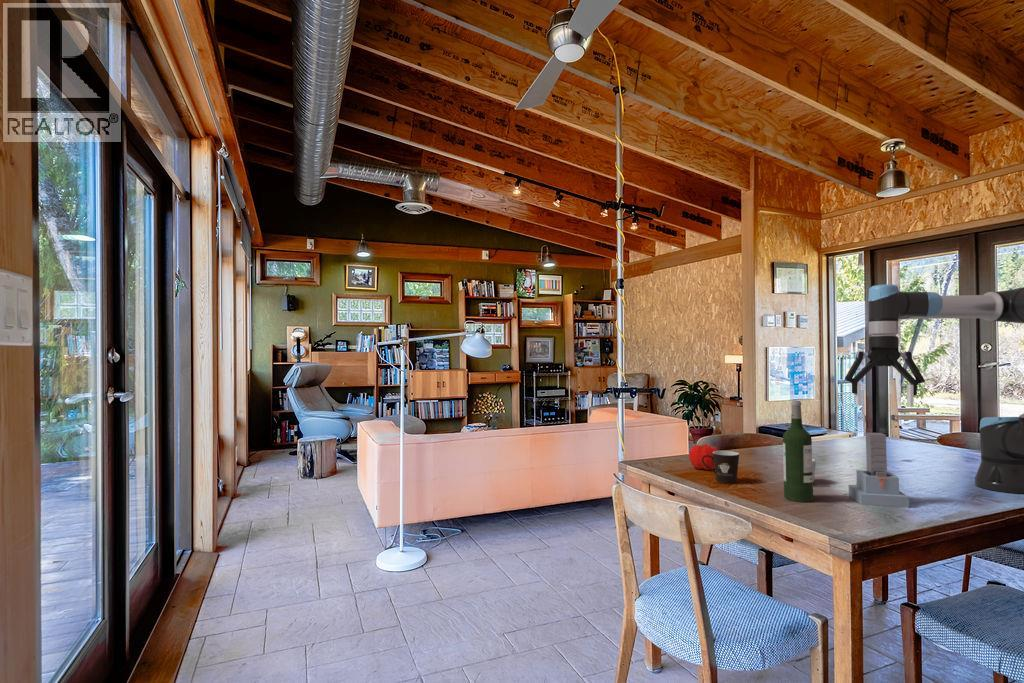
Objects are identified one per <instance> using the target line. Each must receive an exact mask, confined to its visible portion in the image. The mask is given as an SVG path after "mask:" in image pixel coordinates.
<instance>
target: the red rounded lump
mask: <svg viewBox="0 0 1024 683" xmlns="http://www.w3.org/2000/svg"><path fill="white" fill-rule="evenodd" d="M714 451H720V450H719V449H718V448H717V447H715V446H710V445H709V444H706V443H703V444H697V445H694V446H693V447H691V449H690V451H689V455H688V458H689V462H690V463H691V466H692V467H694V468H695V469H698V470H700V469H702V470H706V471H711V470H710V469H708V468H707V467H706V466H705V465H704V464H703V462H702V458H703V456H705V455H710V456H712V457H713V452H714ZM704 463H705V464H706V465H707V466H708V467H710V468H711V469H713V470H715V466H714V462H713V460H712V459H711V458H710V457H705V458H704Z"/></svg>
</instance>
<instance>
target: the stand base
mask: <svg viewBox="0 0 1024 683" xmlns="http://www.w3.org/2000/svg"><path fill="white" fill-rule="evenodd" d="M855 475H856V484H848V485H847V487H848V495H849V496H850V497H851V498H852V499H854V500H855V501H857V503H858V504H860V505H863V506H877V507H880V506H881V507H895V508H910V496H909V495H907V494H905V493H903V492H902V491H901V490H900V480H899V478H900V477H898V476H897V475H895V474H893V473H891V472H889V471H888V470H887V476H886V472H876V476H869V475H867V470H865V469H864V470H862V469H861V470H860V469H856V474H855Z"/></svg>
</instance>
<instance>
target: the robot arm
mask: <svg viewBox="0 0 1024 683" xmlns="http://www.w3.org/2000/svg"><path fill="white" fill-rule="evenodd" d="M867 298H868V299H867V302H868V335H870V336H869V337H868V351H866V352H865V351H861V350H860V351H859V350H858V351H856V357H855V359H854V361H853V363H852V364H851V366H850V368H849V370H848V372H847V373H846V375H845V377H844V381H847V382H849V383H851V393H852V394H854V395H855V396H854V397H855V399H854V400H855V401H854V402H855V405H857V406H862V384H861V383H859V382H860V381H861V380H862V379H863V378H864V377H865V376H866V375H868V373H869V372H871V370H872V369H873V368H874V367H875V366H876V367H893V368H894V369H895V370H896V371H897V372H898V373H899V374H900V375H901V376H902V377H903V378H904V380H906V381H907V382H908V383H909V384H906V407H910V408H914V400H915V399H914V396H917V395H918V385H919V384H924V383H925V382H926V381H925V379H924V377H923V375H922V373H921V372H920V369H919V368H918V366H917V364H916V363H915V361H914V359H913V355H912V352H911V351H904V352H900V350H899V348H900V345H899V342H900V340H899V336H898V335H899V333H900V331H899V327H900V326H899V320H914V319H915V320H918V319H919V320H921V319H922V320H925V319H926V320H928V319H930V320H931V319H949V320H950V319H951V320H952V319H982V320H984V321H987V322H1002V323H1003V322H1004V323H1016V324H1024V287H1018V288H1013V289H1007V290H1002V291H988V292H985V293H984V294H977V295H976V294H974V295H973V294H970V295H969V294H968V295H966V294H965V295H964V294H963V295H961V294H960V295H940V293H938V292H935V291H900V290H899V285H897V284H892V283H891V284H888V283H887V284H876V285H872V286H871V287H869V289H868V297H867ZM866 357H868V359H869V361H868V362H867V363H866V365H865V366H864V367H863V368H862V369H861V370H860V371H859V372H858V373H857V371H858V368H859V367H860V365H861V364H862V363H863V360H865V359H866ZM900 358H902V360H904V362H905V364H906V366H907V367H908V368H909V370H910V371H911V374H910V373H909V371H908V370H907V369H905V367H903V365H902V364H901V363H900V362H899V361H898V360H899V359H900ZM856 373H857V374H856ZM855 374H856V375H855ZM912 375H913V376H912ZM978 430H979V442H980V464H979V466H978V468H977V472H976V474H975V476H974V485H975V486H976V487H979V488H982V489H985V490H990V491H995V492H1002V493H1010V494H1011V493H1012V494H1020V495H1021V494H1022V495H1023V494H1024V412H1023V413H1022V414H1020V415H1018V416H988V417H987V416H985V417H983V418H981V419H980V422H979V429H978Z"/></svg>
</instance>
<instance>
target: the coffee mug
mask: <svg viewBox="0 0 1024 683" xmlns="http://www.w3.org/2000/svg"><path fill="white" fill-rule="evenodd" d="M705 457H710V458H711V459H712V460H713V462H714V466H715V468H714V469H711V468H710V467H708V466H707V465H706V464H705V463H704V458H705ZM739 460H740V453H739V452H736V451H731V450H719V451H714V452H713V457H712V456H710V455H705V456H703V458H702V462H703V464H704V465H705V466H706V467H707V468H708V469H710V470H709V471H710V472H713V473H714V474H715V478H716V482H717V483H719V484H721V485H722V484H723V485H724V484H725V485H735V484H737V483H738V482H737V480H738V470H739ZM734 483H735V484H734Z"/></svg>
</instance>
